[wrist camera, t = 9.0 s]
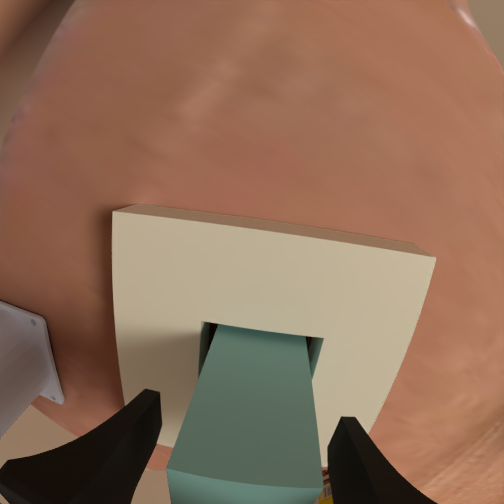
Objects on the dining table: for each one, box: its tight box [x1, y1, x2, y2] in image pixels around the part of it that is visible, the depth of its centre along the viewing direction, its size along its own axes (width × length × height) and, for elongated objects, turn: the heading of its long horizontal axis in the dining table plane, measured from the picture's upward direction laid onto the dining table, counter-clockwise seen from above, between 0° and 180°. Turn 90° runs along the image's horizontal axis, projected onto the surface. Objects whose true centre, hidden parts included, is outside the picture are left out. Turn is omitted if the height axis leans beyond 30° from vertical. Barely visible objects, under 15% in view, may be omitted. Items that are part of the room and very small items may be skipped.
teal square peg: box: [166, 324, 324, 504], centre depth 11 cm, size 4×4×10 cm
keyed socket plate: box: [112, 204, 436, 467], centre depth 15 cm, size 14×14×2 cm
